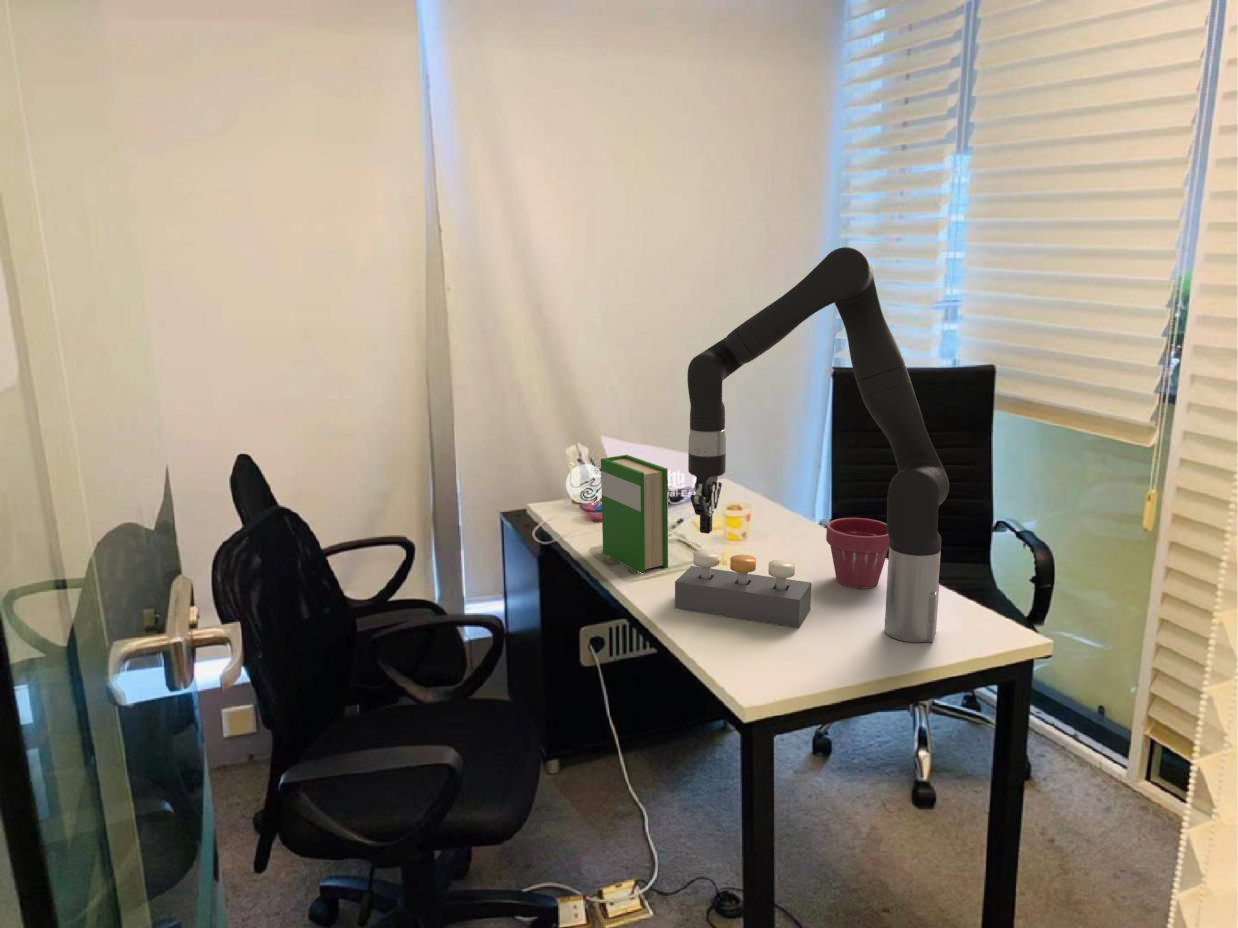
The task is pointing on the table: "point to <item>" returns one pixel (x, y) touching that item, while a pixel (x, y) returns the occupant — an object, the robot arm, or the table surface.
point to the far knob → (705, 562)
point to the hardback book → (635, 512)
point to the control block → (743, 597)
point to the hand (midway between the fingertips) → (706, 532)
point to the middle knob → (743, 567)
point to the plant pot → (858, 550)
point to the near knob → (781, 572)
